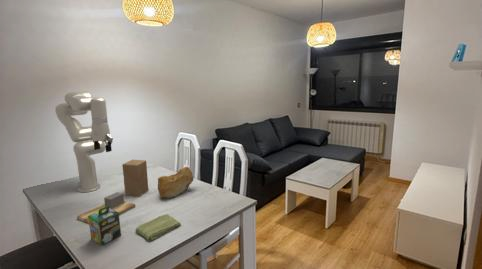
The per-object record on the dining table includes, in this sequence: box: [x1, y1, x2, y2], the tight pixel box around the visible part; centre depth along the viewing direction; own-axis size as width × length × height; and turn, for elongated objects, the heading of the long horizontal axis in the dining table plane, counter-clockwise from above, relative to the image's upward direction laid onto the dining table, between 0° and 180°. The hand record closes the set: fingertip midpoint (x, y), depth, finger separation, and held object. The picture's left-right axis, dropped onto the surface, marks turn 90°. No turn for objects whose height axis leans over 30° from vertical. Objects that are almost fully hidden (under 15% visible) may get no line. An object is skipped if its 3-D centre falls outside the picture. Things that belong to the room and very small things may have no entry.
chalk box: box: [88, 206, 122, 246], centre depth 110 cm, size 9×9×15 cm
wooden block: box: [122, 159, 149, 197], centre depth 155 cm, size 10×10×20 cm
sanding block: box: [103, 191, 125, 210], centre depth 136 cm, size 5×8×6 cm, turn 154°
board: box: [76, 200, 136, 224], centre depth 133 cm, size 16×22×2 cm
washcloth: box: [135, 213, 181, 242], centre depth 118 cm, size 13×18×3 cm
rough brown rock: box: [157, 166, 194, 199], centre depth 157 cm, size 23×17×15 cm
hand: (103, 150), depth 142 cm, fingers open, 9 cm apart
